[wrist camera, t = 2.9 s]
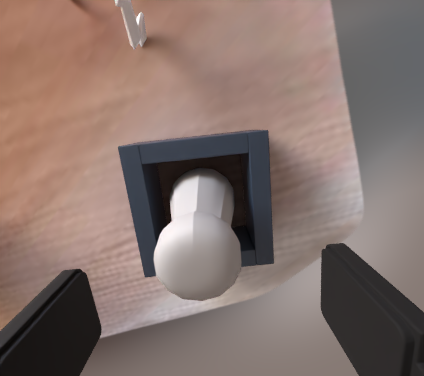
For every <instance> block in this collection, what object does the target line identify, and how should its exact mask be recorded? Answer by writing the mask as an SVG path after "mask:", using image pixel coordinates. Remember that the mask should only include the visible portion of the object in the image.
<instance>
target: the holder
mask: <svg viewBox="0 0 424 376" xmlns="http://www.w3.org/2000/svg"><path fill="white" fill-rule="evenodd" d="M118 150H119V155H120V160H121V165H122V169H123V174H124V179H125V184H126V189H127V193H128V198H129V203H130V208H131V213H132V217H133V222H134V227H135V232H136V237H137V241H138V246H139V251H140V256H141V261H142V266H143V270H144V275H145V277H153V276H156V271H155V265H154V251H155V248H156V245H157V242H158V239H159V236H160V234H161V232H162V230H163V229H164V228H165V227H166V226H167V219H166V213H165V207H164V201H163V195H162V189H161V183H160V177H159V171H158V165H157V163H162V162H171V161H180V160H189V159H199V158H208V157H217V156H226V155H235V154H240V156H241V169H242V183H243V196H244V210H245V223H246V226H236V227H231V228H232V230H233V231H234V233H235V235H236V236H237V238H238V240H239V243H240V250H241V267H245V266H254V265H264V264H273V263H274V253H273V230H272V206H271V183H270V159H269V136H268V130H248V131H239V132H230V133H221V134H211V135H202V136H193V137H184V138H175V139H166V140H157V141H148V142H138V143H133V144H128V145H124V146H119V147H118Z"/></svg>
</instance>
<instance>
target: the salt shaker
mask: <svg viewBox="0 0 424 376" xmlns="http://www.w3.org/2000/svg"><path fill="white" fill-rule="evenodd" d="M170 207H171V218H172V222H170V223H169V224H168V225H167V226H166V227H165V228H164V229H163V230H162V232H161V234H160V236H159V239H158V242H157V245H156V248H155V251H154V265H155V271H156V277H157V278H158V279H159V280H160V282H161V283H162V284H163V285H164V287H165V288H166V289H167V290H168V291H169V292H171V293H173V294H175V295H177V296H179V297H180V298H182V299H188V300H199V301H203V300H207V299H210V298H214V297H217V296H220V295H221V294H223V293H224V292H225V291H226V290H227V289H229V288H230V287H231V286H232V285H233V284H234V282H235V280H236V278H237V276H238V274H239V272H240V270H241V250H240V243H239V240H238V238H237V236H236V235H235V233H234V231H233V230H232V228H231V222H232V217H233V212H234V207H235V199H234V190H233V188H232V186H231V184H230V183H229V181H228V179H227V178H226V177H225V176H223V175H222V174H220V173H219V172H217V171H215V170H214V169H207V168H200V167H199V168H196V169H193V170H190V171H187V172H185V173H183V174H182V175H181V176H180V177H179V178H178V179H177V180H176V181H175V182H174V184H173V187H172V190H171V193H170Z"/></svg>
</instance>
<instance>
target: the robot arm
mask: <svg viewBox="0 0 424 376" xmlns="http://www.w3.org/2000/svg"><path fill="white" fill-rule="evenodd" d="M321 311H322V314H323V316H324V318H325V320H326V321H327V323H328V325H329V326H330V328H331V330H332V331H333V333H334V335H335V336H336V338H337V340H338V341H339V343H340V345H341V347H342V348H343V350H344V352H345V353H346V355H347V357H348V358H349V360H350V362H351V363H352V365H353V367H354V368H355V370H356V372H357V373H358V375H359V376H424V312H423V311H422V310H420V309H419V308H418V307H417V306H416V305H415V304H414V303H412V302H411V301H410V300H409V299H408V298H406V297H405V296H404V295H403V294H402V293H401V292H400V291H399V290H397V289H396V288H395V287H394V286H393V285H392V284H390V283H389V282H388V281H387V280H386V279H385V278H383V277H382V276H381V275H380V274H379V273H378V272H377V271H375V270H374V269H373V268H372V267H371V266H369V265H368V264H367V263H366V262H365V261H364V260H362V259H361V258H360V257H359V256H358V255H357V254H355V252H353V251H352V250H351V249H350V248H349V247H347V246H346V245H345V244H344V243H339V244H328V245H327V246H326V249H323V250H322V264H321ZM100 335H101V324H100V320H99V317H98V313H97V310H96V306H95V302H94V299H93V295H92V292H91V288H90V285H89V281H88V278H87V275H86V273H85V272H82V270H81V269H73V270H64V271H62V272H61V273H60V274H59V275H58V276H57V277H56V278H55V279H54V280H53V281H52V282H51V283H50V284H49V285H48V286H47V287H46V288H44V289H43V290H42V291H41V292H40V293H39V294H38V295H37V296H36V297H35V298H34V299H33V300H32V301H31V302H30V303H29V304H28V305H27V306H26V307H25V308H24V309H23V310H22V311H21V312H20V313H19V314H17V315H16V316H15V317H14V318H13V319H12V320H11V321H10V322H9V323H8V324H7V325H6V326H5V327H4V328H3V329H2V330H1V331H0V376H79V375H80V373H81V372H82V370H83V368H84V366H85V364H86V362H87V360H88V358H89V357H90V355H91V353H92V351H93V349H94V347H95V345H96V343H97V342H98V340H99V338H100Z"/></svg>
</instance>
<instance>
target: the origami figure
mask: <svg viewBox="0 0 424 376" xmlns="http://www.w3.org/2000/svg"><path fill="white" fill-rule="evenodd" d="M114 1H115V4H116V6H118V7H121V11H122V15H123V19H124V23H125V27H126V30H127V34H128V38H129V41H130V44H131V46H132V47H133V49H134V50H135V49H136V47H137V45H138V43H139V44H140V46H141V47H142V46H143V44H144V42H145V41H146V39H147V37H146V29H145V21H144V14H143V13H142V12H140V14H139V15H138V17H137V18H136V17H135V14H134V10H133V7H132V4H131V0H114Z"/></svg>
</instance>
